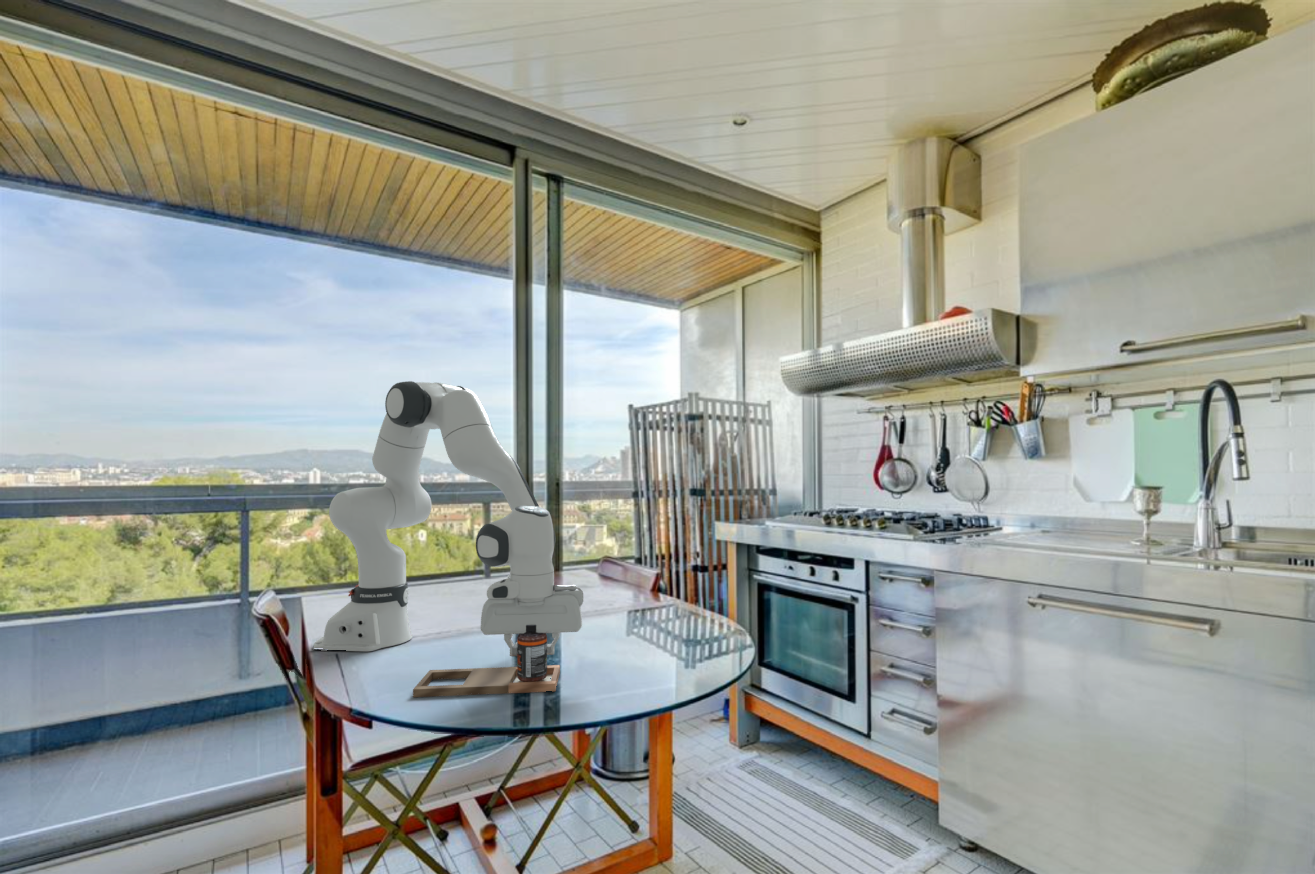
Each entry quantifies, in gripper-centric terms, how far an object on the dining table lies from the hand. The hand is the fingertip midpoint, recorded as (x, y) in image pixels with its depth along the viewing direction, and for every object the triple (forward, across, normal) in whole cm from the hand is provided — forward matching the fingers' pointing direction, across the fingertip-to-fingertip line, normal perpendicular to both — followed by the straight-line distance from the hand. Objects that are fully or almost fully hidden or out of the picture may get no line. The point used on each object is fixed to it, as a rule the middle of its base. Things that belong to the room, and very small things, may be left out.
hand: (532, 654), depth 125 cm
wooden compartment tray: (+6, +8, 0) cm, 10 cm away
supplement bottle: (+5, 0, 0) cm, 5 cm away
